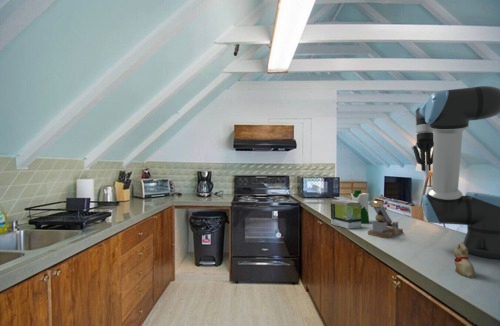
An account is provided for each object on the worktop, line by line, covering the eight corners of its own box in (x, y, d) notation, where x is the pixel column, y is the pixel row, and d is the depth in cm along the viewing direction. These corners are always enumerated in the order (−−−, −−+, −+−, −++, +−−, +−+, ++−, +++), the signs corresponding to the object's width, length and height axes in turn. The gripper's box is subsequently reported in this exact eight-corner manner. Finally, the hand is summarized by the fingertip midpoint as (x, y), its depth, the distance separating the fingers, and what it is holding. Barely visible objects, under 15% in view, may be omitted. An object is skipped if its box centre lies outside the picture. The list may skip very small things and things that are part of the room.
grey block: (377, 230, 134) (376, 220, 135) (386, 231, 130) (386, 221, 130) (372, 231, 132) (372, 221, 132) (382, 233, 128) (382, 222, 128)
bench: (385, 229, 143) (385, 218, 143) (402, 232, 136) (402, 221, 136) (368, 234, 133) (367, 222, 133) (385, 238, 126) (385, 225, 126)
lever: (384, 220, 139) (371, 199, 132) (394, 222, 135) (381, 200, 128) (382, 225, 137) (369, 204, 131) (392, 227, 133) (379, 205, 127)
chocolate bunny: (477, 271, 85) (475, 240, 85) (474, 279, 79) (473, 246, 80) (455, 267, 89) (454, 237, 89) (451, 274, 83) (450, 242, 84)
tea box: (362, 227, 149) (361, 201, 150) (348, 229, 146) (347, 202, 146) (343, 222, 163) (342, 199, 164) (330, 224, 160) (329, 200, 160)
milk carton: (350, 221, 165) (349, 190, 165) (359, 220, 169) (358, 189, 170) (362, 224, 157) (361, 191, 158) (371, 222, 162) (370, 190, 162)
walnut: (384, 222, 129) (384, 215, 129) (376, 222, 130) (376, 214, 130) (382, 220, 133) (381, 213, 133) (374, 220, 133) (374, 213, 134)
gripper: (434, 133, 142) (436, 177, 141) (408, 134, 145) (409, 177, 143) (442, 131, 135) (443, 177, 134) (414, 132, 137) (416, 177, 136)
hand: (426, 177), depth 139 cm, fingers closed
